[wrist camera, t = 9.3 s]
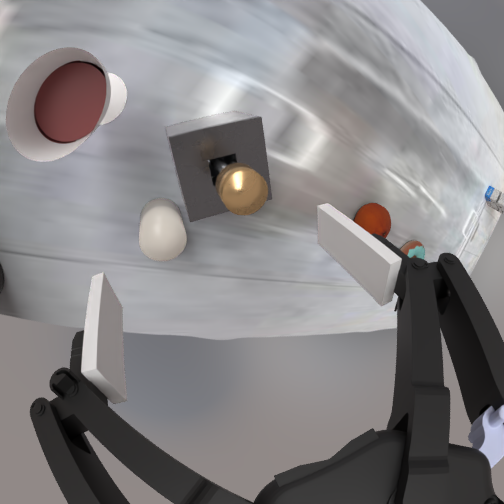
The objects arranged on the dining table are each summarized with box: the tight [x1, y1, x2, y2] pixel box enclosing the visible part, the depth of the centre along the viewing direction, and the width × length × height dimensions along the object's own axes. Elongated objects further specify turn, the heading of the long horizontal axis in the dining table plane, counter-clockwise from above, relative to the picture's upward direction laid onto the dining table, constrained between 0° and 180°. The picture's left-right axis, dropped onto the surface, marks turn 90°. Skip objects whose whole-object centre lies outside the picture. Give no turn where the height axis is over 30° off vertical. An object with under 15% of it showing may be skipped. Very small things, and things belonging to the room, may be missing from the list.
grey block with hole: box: [165, 111, 272, 222], centre depth 38 cm, size 11×11×12 cm
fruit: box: [354, 203, 391, 238], centre depth 57 cm, size 9×9×8 cm
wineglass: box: [6, 48, 127, 162], centre depth 24 cm, size 9×10×22 cm
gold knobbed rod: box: [208, 154, 268, 215], centre depth 34 cm, size 7×7×19 cm
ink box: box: [485, 186, 504, 214], centre depth 73 cm, size 9×5×12 cm, turn 56°
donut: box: [400, 241, 425, 259], centre depth 73 cm, size 12×12×4 cm
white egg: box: [139, 198, 187, 261], centre depth 43 cm, size 7×7×8 cm
